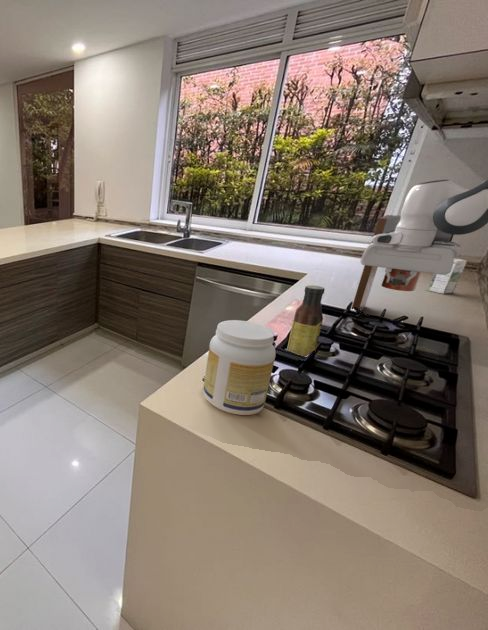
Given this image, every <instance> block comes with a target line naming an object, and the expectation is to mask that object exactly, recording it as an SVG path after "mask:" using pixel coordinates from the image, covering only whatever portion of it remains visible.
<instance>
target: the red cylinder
mask: <svg viewBox="0 0 488 630" xmlns="http://www.w3.org/2000/svg"><path fill="white" fill-rule="evenodd" d="M410 272H411V271H408V270H400V269H392V271H391V272H390V274H391V277H394V279H393V281H392V283H387V282H386V281H387V278H388V277H387V275H386V272H385V274H384V276H383V280H382V282H381V287H382V288H385V289H388V290H393V291H400V292H414V291H416V287H417V286H418V282H419V279H420V277H421V274H422V272H417V274H416V276H414V277H413V278H412V279H410V280H409V282H408V285H401V283H402V280H403V278H406V279H407V278H408V277H409V276H411V274H410Z"/></svg>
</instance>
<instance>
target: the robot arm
mask: <svg viewBox="0 0 488 630" xmlns="http://www.w3.org/2000/svg"><path fill="white" fill-rule="evenodd" d="M400 216H401V219H400V221H399V223H398V224H397V226H396V228H395V231H394V232H387V233H383V234H378V235H375V236H374V235H373V236H374V237H373V236H372V239H373V240H371V243H370V244H368V245H367V246H366V248H365V250H364V252H363V253H362V256H361V258H360V264H361V265H362V266H365V265H367V266H375V267H378V268H383V269H385V270H384V272H385V273H386V275H387V277H388V278H387V281H386V282H387V283H392V281H393V279H394V277H391V274H390V272H391V271H392V269H400V270H408V271H411V272H410V274H411V276H409V277H408V278H407V279H406V278H403V280H402V283H401V285H408V282H409V280H410V279H412V278H413V277H414V276H416V274H417V272H421V273H426V274H433V275H434V274H441V275H446V274H448V273H450V272H451V269H452V266H453V262H454V258H458V257H459V256H460V254H461V252H462V249H463V248H462V245H461V244H459V243H457V242H456V241H451V242H445V241H437V240H434V237H435V235H436V232H437V229H439V230H440V231H442V232H444V233H447V234H452V235H454V236H463V235H468V234H471V233H474V232H476V231H478V230H480V229H482V228H484V227H485V226H486V225H487V224H488V178H487V179H485V180H483V181H482V182H481V183H480V184H478V185H476V186H475V187H473V188H471V189H468V188H465V187H463V186H460V185H458V184H456V183H454V181H452V180H450V179H437V180H431V181H424V182H420V183H418V184H416V185H414V186H413V187H411V189H410V190H409V192H408V193H407V195H406V197H405V200H404V202H403V204H402V208H401V211H400ZM372 241H373V243H372ZM431 245H432V246H431Z"/></svg>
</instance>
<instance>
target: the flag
mask: <svg viewBox="0 0 488 630" xmlns="http://www.w3.org/2000/svg"><path fill="white" fill-rule="evenodd" d="M400 219H401V215H396V214H395V215H394V214H386V215H384V216H381V217H379V218H378V220H377V222H376V226H375V230H374V233H373V236H372V240H373V237H374V236H375V235H378V234H383V233H387V232H394V231H395V228H396V226H397V224H398V223H399V221H400ZM454 236H455V235H452V234H447V233H444V232H442V231H440V230H439V229H437V232H436V235H435V237H434V240H437V241H445V242H453V238H454ZM372 240H371V243H373V241H372ZM431 246H432V245H431ZM378 268H379V267H375V266H367V265H363V270H362V273H361V276H360V279H359V282H358V286H357V289H356V293H355V296H354V299H353V302H352V305H351V309H353V308H354V307H357V308H359V309H361V310H362V311H363V310H364V309H365V308H366V305H367V303H368V299H369V296H370V292H371V290H372V286H373V284H374V280H375V276H376V274H377V270H378Z"/></svg>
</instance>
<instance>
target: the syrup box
mask: <svg viewBox="0 0 488 630" xmlns="http://www.w3.org/2000/svg"><path fill="white" fill-rule="evenodd" d="M467 263H468V260H466V259H461V258H458V257H456V258H454V262H453V266H452V269H451V272H450V273H448V274H446V275H441V274H433V277H432V279H431V282H430V284H429V286H428V288H427V290H428V291H429V292H433V293H438V294H442V295H445V294H446V295H448V294H453V293H454V291H455V290H456V287H457V285H458V283H459V280H460V279H461V277H462V274H463V271H464V269H465V267H466V264H467Z"/></svg>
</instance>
